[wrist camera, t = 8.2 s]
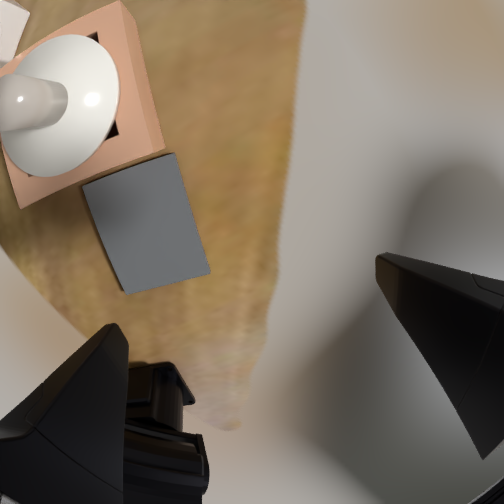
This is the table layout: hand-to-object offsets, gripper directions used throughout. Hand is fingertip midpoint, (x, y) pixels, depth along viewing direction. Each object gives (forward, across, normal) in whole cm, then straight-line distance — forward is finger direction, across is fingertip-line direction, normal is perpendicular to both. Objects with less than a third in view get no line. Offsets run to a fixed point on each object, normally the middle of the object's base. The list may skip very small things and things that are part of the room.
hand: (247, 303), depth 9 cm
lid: (+8, +8, -10) cm, 15 cm away
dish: (+12, +8, -10) cm, 18 cm away
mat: (+12, +6, 0) cm, 13 cm away
